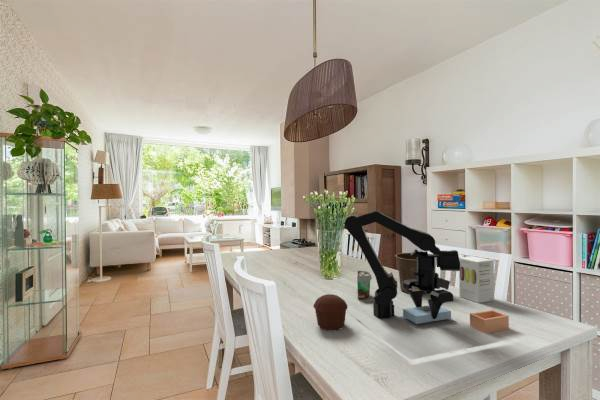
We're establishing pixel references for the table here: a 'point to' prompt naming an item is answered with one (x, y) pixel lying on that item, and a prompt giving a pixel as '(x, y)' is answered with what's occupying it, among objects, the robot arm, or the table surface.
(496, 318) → the orange open box
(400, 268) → the plant pot
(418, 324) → the mat
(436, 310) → the robot arm
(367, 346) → the table surface
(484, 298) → the supplement box
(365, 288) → the food container
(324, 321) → the muffin
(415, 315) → the lid
